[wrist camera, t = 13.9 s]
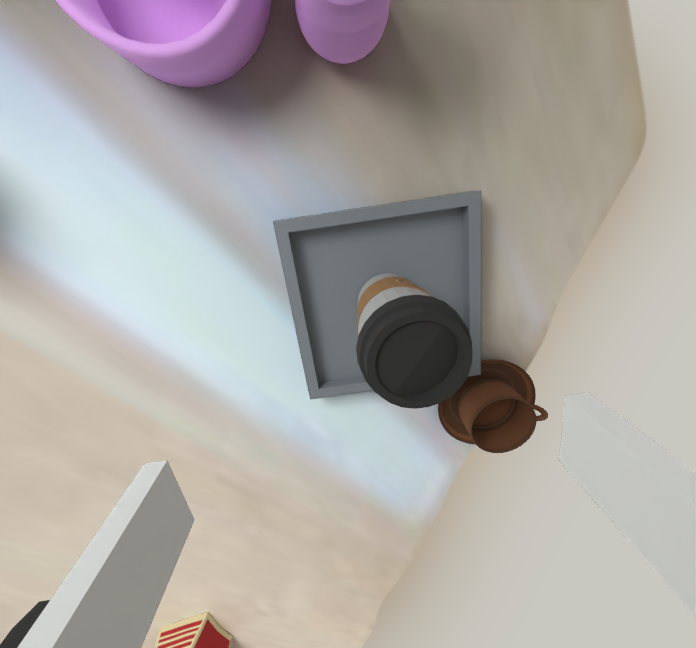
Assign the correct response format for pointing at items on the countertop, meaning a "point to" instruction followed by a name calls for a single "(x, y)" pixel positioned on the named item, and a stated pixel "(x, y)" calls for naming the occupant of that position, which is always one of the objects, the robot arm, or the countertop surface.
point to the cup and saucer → (493, 408)
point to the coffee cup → (410, 343)
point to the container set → (221, 32)
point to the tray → (372, 260)
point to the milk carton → (193, 634)
